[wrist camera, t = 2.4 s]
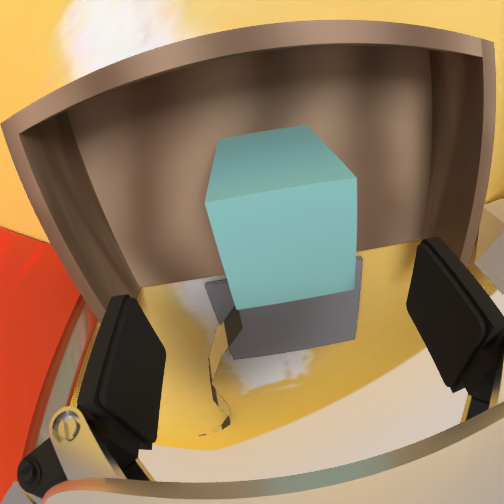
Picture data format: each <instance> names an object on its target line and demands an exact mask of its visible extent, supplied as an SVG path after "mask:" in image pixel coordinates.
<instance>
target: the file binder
mask: <svg viewBox="0 0 504 504" xmlns="http://www.w3.org/2000/svg"><path fill="white" fill-rule="evenodd" d="M96 323H97V317H96V316H95V315H94V313H93V312H92V310H91V309H90V307H89V306H88V304H87V303H86V301H85V300H84V298H83V297H82V295H81V293H80V292H79V290H78V289H77V287H76V286H75V284H74V282H73V281H72V279H71V277H70V276H69V274H68V272H67V271H66V269H65V267H64V266H63V264H62V262H61V261H60V259H59V257H58V255H57V253H56V252H55V250H54V248H53V246H52V245H51V244H48V243H45V242H42V241H39V240H36V239H33V238H30V237H27V236H24V235H21V234H18V233H16V232H13V231H10V230H7V229H4V228H2V227H0V503H1V501H2V500H3V498H4V497H5V495H6V493H7V492H8V490H9V489H10V487H11V486H12V484H13V483H14V481H17V482H18V478H17V470H18V466H19V464H20V462H21V460H22V459H23V458H24V457H26V456H27V455H28V454H29V453H31V452H32V451H33V450H34V449H36V448H37V447H38V446H39V445H41V444H42V443H43V442H44V441H46V440H47V439H48V438H49V437H50V435H49V424H50V421H51V419H52V417H53V415H54V414H55V413H56V412H57V411H58V410H59V409H61V408H63V407H67V406H70V402H71V398H72V395H73V391H74V388H75V385H76V381H77V378H78V375H79V372H80V369H81V365H82V362H83V359H84V356H85V353H86V350H87V348H88V345H89V342H90V339H91V336H92V333H93V331H94V328H95V325H96Z"/></svg>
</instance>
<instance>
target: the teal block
mask: <svg viewBox="0 0 504 504" xmlns="http://www.w3.org/2000/svg"><path fill="white" fill-rule="evenodd" d="M205 206H206V210H207V213H208V217H209V220H210V224H211V227H212V231H213V234H214V237H215V241H216V244H217V248H218V251H219V254H220V258H221V261H222V264H223V268H224V271H225V274H226V278H227V281H228V284H229V288H230V291H231V294H232V297H233V301H234V304H235V307H236V310H240V309H246V308H253V307H259V306H266V305H272V304H278V303H284V302H290V301H295V300H301V299H307V298H312V297H318V296H323V295H328V294H334V293H339V292H344V291H349V290H354V286H355V269H356V245H357V178H356V176H355V175H354V174H353V173H352V172H351V171H350V170H349V169H348V168H347V166H346V165H345V164H344V163H343V162H342V161H341V160H340V159H339V158H338V157H337V156H336V155H335V154H334V152H333V151H332V150H331V149H330V148H329V147H328V146H327V145H326V144H325V143H324V142H323V141H322V140H321V139H320V138H319V137H318V136H317V135H316V134H315V133H314V132H313V131H312V130H311V129H310V128H309V127H308V126H307V125H302V126H295V127H287V128H281V129H274V130H268V131H262V132H256V133H250V134H245V135H239V136H234V137H229V138H224V139H219V140H218V142H217V147H216V151H215V156H214V160H213V165H212V169H211V174H210V179H209V184H208V189H207V193H206V198H205Z"/></svg>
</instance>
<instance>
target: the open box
mask: <svg viewBox="0 0 504 504" xmlns="http://www.w3.org/2000/svg"><path fill="white" fill-rule="evenodd" d="M495 113H496V69H495V52H494V42H491V41H488V40H485V39H481V38H477V37H474V36H470V35H465V34H461V33H457V32H452V31H447V30H442V29H437V28H431V27H425V26H418V25H411V24H403V23H393V22H381V21H365V20H313V21H296V22H284V23H274V24H266V25H258V26H251V27H244V28H238V29H233V30H227V31H222V32H217V33H212V34H208V35H203V36H199V37H195V38H191V39H187V40H183V41H179V42H176V43H172V44H169V45H165V46H162V47H159V48H156V49H152V50H149V51H146V52H143V53H140V54H138V55H135V56H132V57H129V58H127V59H124V60H121V61H119V62H116V63H114V64H111V65H109V66H106V67H104V68H101V69H99V70H97V71H94V72H92V73H90V74H88V75H86V76H83V77H81V78H79V79H77V80H75V81H73V82H71V83H69V84H67V85H65V86H63V87H61V88H59V89H57V90H55V91H53V92H52V93H50V94H48V95H46V96H44V97H42V98H41V99H39V100H37V101H36V102H34V103H32V104H30V105H29V106H27V107H25V108H24V109H22V110H21V111H19V112H17V113H16V114H14V115H13V116H11V117H10V118H8V119H7V120H5V121H4V122H2V123H1V128H2V131H3V134H4V137H5V140H6V143H7V146H8V148H9V151H10V154H11V157H12V159H13V162H14V165H15V167H16V170H17V172H18V175H19V177H20V180H21V182H22V184H23V187H24V189H25V191H26V194H27V196H28V198H29V200H30V202H31V205H32V207H33V209H34V211H35V213H36V215H37V217H38V219H39V221H40V223H41V225H42V227H43V229H44V231H45V233H46V235H47V237H48V239H49V241H50V243H51V244H52V246H53V248H54V250H55V252H56V253H57V255H58V257H59V259H60V261H61V262H62V264H63V266H64V267H65V269H66V271H67V272H68V274H69V276H70V277H71V279H72V281H73V282H74V284H75V286H76V287H77V289H78V290H79V292H80V293H81V295H82V297H83V298H84V300H85V301H86V303H87V304H88V306H89V307H90V309H91V310H92V312H93V313H94V315H95V316H96V317H97V319H98V320H99V322H100V323H102V320H103V317H104V315H105V312H106V309H107V306H108V304H109V301H110V299H111V297H113V296H118V295H124V294H129V295H130V296H131V298H135V299H136V298H137V295H138V292H139V289H140V287H147V286H154V285H160V284H167V283H173V282H180V281H186V280H192V279H199V278H205V277H211V276H217V275H224V274H225V271H224V268H223V264H222V261H221V258H220V254H219V251H218V248H217V244H216V241H215V237H214V234H213V231H212V227H211V224H210V220H209V217H208V213H207V210H206V206H205V198H206V193H207V189H208V184H209V179H210V174H211V169H212V165H213V160H214V156H215V151H216V147H217V142H218V140H219V139H224V138H229V137H234V136H239V135H245V134H250V133H256V132H262V131H268V130H274V129H281V128H287V127H295V126H302V125H307V126H308V127H309V128H310V129H311V130H312V131H313V132H314V133H315V134H316V135H317V136H318V137H319V138H320V139H321V140H322V141H323V142H324V143H325V144H326V145H327V146H328V147H329V148H330V149H331V150H332V151H333V152H334V154H335V155H336V156H337V157H338V158H339V159H340V160H341V161H342V162H343V163H344V164H345V165H346V166H347V168H348V169H349V170H350V171H351V172H352V173H353V174H354V175H355V176H356V178H357V245H356V252H357V251H363V250H368V249H373V248H379V247H384V246H390V245H395V244H400V243H405V242H411V241H416V240H421V239H422V240H423V239H426V238H431V237H436V236H437V237H440V238H441V239H442V240H443V241H444V242H445V244H446V245H447V246H448V247H449V248H450V249H451V250H452V251H453V253H454V254H455V255H456V256H457V257H458V258H459V260H460V261H461V262H462V263H463V264H464V265H465V267H466V268H467V269H468V265H469V262H470V259H471V255H472V252H473V248H474V245H475V241H476V237H477V234H478V230H479V225H480V221H481V217H482V212H483V208H484V203H485V198H486V192H487V187H488V181H489V175H490V168H491V160H492V152H493V142H494V130H495Z"/></svg>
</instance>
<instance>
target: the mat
mask: <svg viewBox="0 0 504 504" xmlns="http://www.w3.org/2000/svg"><path fill="white" fill-rule="evenodd" d="M362 263H363V259H362V257H361V256H359V257H356V269H355V286H354V290H349V291H344V292H339V293H334V294H328V295H323V296H318V297H312V298H307V299H301V300H295V301H290V302H284V303H278V304H272V305H266V306H259V307H253V308H246V309H240V310H239V313H240V317H241V322H242V326H243V329H242V330H241V332H240V333H239V334H238V336H237V337H236V338H235V339H234V341H233V342H232V343H231V345H230V346H229V349H230V352H231V354H232V357H233V359H234V360H236V359H244V358H252V357H259V356H266V355H273V354H279V353H285V352H292V351H297V350H303V349H309V348H314V347H319V346H324V345H330V344H334V343H339V342H344V341H349V340H353V339H355V335H356V327H357V319H358V310H359V300H360V289H361V277H362ZM205 288H206V290H207V293H208V296H209V298H210V301H211V304H212V306H213V309H214V311H215V314H216V317H217V319H218V322H219V324H220V326H221V324H222V323H223V322H224V320H225V319H226V317H227V316H228V314H229V313H230V312H231V310H232V309H233V307H234V306H235V304H234V301H233V297H232V294H231V291H230V288H229V284H228V281H227V279H226V280H220V281H213V282H207V283H205Z"/></svg>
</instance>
